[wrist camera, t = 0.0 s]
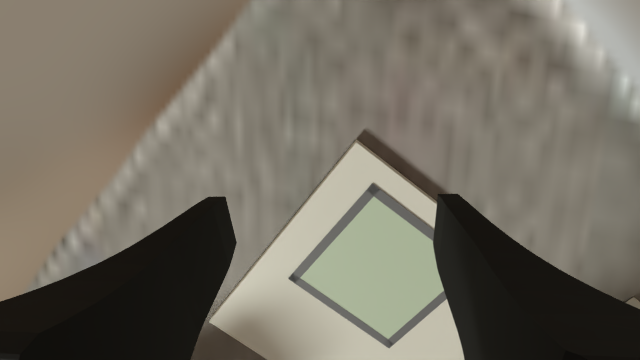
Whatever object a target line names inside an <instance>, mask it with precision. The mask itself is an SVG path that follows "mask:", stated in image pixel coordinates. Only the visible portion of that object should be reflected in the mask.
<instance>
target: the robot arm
mask: <svg viewBox="0 0 640 360" xmlns="http://www.w3.org/2000/svg"><path fill="white" fill-rule="evenodd" d="M236 243H237V242H236V238H235V234H234V230H233V226H232V222H231V218H230V214H229V210H228V206H227V201H226V197H208V198H206V199H204V200H202V201H201V202H199V203H197V204H196V205H194V206H193V207H191V208H190V209H188V210H187V211H185V212H184V213H182V214H181V215H179V216H178V217H176V218H175V219H173V220H172V221H170V222H169V223H167V224H166V225H164V226H163V227H161V228H160V229H158V230H157V231H155V232H153V233H152V234H150V235H148V236H147V237H145V238H144V239H142V240H140V241H139V242H137V243H136V244H134V245H132V246H130V247H129V248H127V249H125V250H123V251H121V252H119V253H118V254H116V255H114V256H112V257H110V258H108V259H106V260H104V261H102V262H100V263H98V264H96V265H93V266H91V267H89V268H87V269H84V270H82V271H80V272H78V273H75V274H73V275H71V276H69V277H66V278H64V279H62V280H59V281H57V282H54V283H52V284H49V285H47V286H44V287H41V288H39V289H36V290H33V291H30V292H28V293H25V294H22V295H19V296H16V297H13V298H10V299H7V300H4V301H1V302H0V360H190V359H191V356H192V353H193V350H194V347H195V344H196V342H197V339H198V336H199V333H200V331H201V328H202V326H203V324H204V321H205V319H206V317H207V315H208V313H209V311H210V308H211V306H212V304H213V302H214V300H215V298H216V296H217V293H218V291H219V289H220V287H221V285H222V283H223V280H224V278H225V276H226V274H227V271H228V269H229V267H230V264H231V260H232V257H233V254H234V250H235V246H236ZM433 248H434V253H435V259H436V264H437V269H438V273H439V276H440V279H441V282H442V286H443V289H444V292H445V295H446V298H447V301H448V304H449V307H450V310H451V313H452V316H453V319H454V322H455V325H456V328H457V331H458V335H459V338H460V342H461V346H462V350H463V355H464V359H465V360H640V309H638V308H636V307H634V306H632V305H629V304H627V303H625V302H622V301H620V300H618V299H616V298H614V297H612V296H609V295H607V294H605V293H603V292H601V291H599V290H597V289H595V288H593V287H591V286H589V285H587V284H585V283H583V282H581V281H580V280H578V279H576V278H574V277H572V276H570V275H568V274H567V273H565V272H563V271H561V270H559V269H558V268H556V267H554V266H553V265H551V264H549V263H548V262H546V261H545V260H543V259H541V258H540V257H538V256H536V255H535V254H533V253H532V252H530V251H529V250H527V249H526V248H524V247H523V246H522V245H520V244H519V243H518V242H516V241H515V240H513V239H512V238H511V237H509V236H508V235H507V234H505V233H504V232H503V231H501V230H500V229H499V228H498V227H496V226H495V225H494V224H493V223H491V222H490V221H489V220H488V219H486V218H485V217H484V216H483V215H482V214H481V213H479V212H478V211H477V210H476V209H475V208H474V207H472V206H471V205H470V204H469V203H468V202H467V201H465V200H464V199H463V198H462V197H461V196H460V195H458V194H438V199H437V209H436V218H435V228H434V237H433Z"/></svg>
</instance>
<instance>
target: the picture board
mask: <svg viewBox="0 0 640 360" xmlns="http://www.w3.org/2000/svg"><path fill="white" fill-rule="evenodd" d="M436 209H437V201H436V200H434V199H433V198H432V197H430V196H429V195H428V194H427V193H425V192H424V191H423V190H421V189H420V188H419V187H418V186H416V185H415V184H414V183H412V182H411V181H410V180H409V179H407V178H406V177H405V176H403V175H402V174H401V173H399V172H398V171H397V170H396V169H394V168H393V167H392V166H390V165H389V164H388V163H387V162H385V161H384V160H383V159H381V158H380V157H379V156H378V155H376V154H375V153H374V152H372V151H371V150H370V149H368V148H367V147H366V146H365V145H363V144H362V143H361V142H359V141H358V140H357V139H356V140H355V142H354V143H353V144H352V145H351V146H350V148H349V149H348V150H347V151H346V153H345V154H344V155H343V156H342V157H341V159H340V160H339V161H338V162H337V164H336V165H335V166H334V167H333V168H332V170H331V171H330V172H329V173H328V174H327V176H326V177H325V178H324V179H323V181H322V182H321V183H320V184H319V185H318V187H317V188H316V189H315V190H314V192H313V193H312V194H311V195H310V196H309V198H308V199H307V200H306V201H305V203H304V204H303V205H302V206H301V207H300V209H299V210H298V211H297V212H296V214H295V215H294V216H293V217H292V218H291V220H290V221H289V222H288V223H287V225H286V226H285V227H284V228H283V229H282V231H281V232H280V233H279V234H278V236H277V237H276V238H275V239H274V240H273V242H272V243H271V244H270V245H269V247H268V248H267V249H266V250H265V251H264V253H263V254H262V255H261V256H260V258H259V259H258V260H257V261H256V262H255V264H254V265H253V266H252V267H251V269H250V270H249V271H248V272H247V273H246V275H245V276H244V277H243V278H242V280H241V281H240V282H239V283H238V284H237V286H236V287H235V288H234V289H233V291H232V292H231V293H230V294H229V295H228V297H227V298H226V299H225V300H224V302H223V303H222V304H221V305H220V306H219V308H218V309H217V310H216V311H215V313H214V314H213V315H212V317H211V319H210V321H209V322H210V323H211V324H213V325H215V326H216V327H218V328H219V329H221V330H222V331H224V332H225V333H227V334H228V335H230V336H231V337H233V338H235V339H236V340H238V341H239V342H241V343H242V344H244V345H245V346H247V347H248V348H250V349H251V350H253V351H254V352H256V353H258V354H259V355H261V356H262V357H264V358H265V359H267V360H465V359H464V355H463V350H462V346H461V342H460V338H459V335H458V331H457V328H456V325H455V322H454V319H453V316H452V313H451V310H450V307H449V304H448V301H447V298H446V295H445V292H444V289H443V286H442V282H441V279H440V276H439V273H438V269H437V264H436V259H435V253H434V248H433V237H434V228H435V218H436Z"/></svg>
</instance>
